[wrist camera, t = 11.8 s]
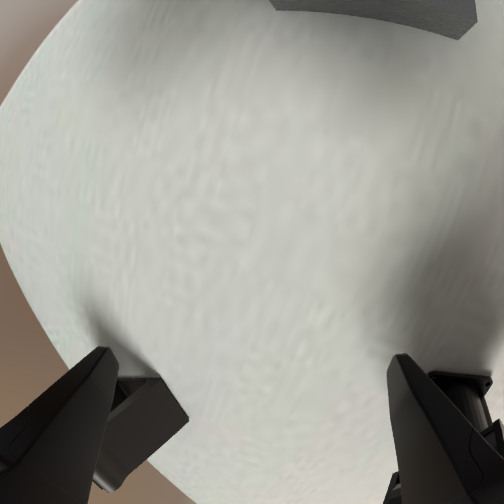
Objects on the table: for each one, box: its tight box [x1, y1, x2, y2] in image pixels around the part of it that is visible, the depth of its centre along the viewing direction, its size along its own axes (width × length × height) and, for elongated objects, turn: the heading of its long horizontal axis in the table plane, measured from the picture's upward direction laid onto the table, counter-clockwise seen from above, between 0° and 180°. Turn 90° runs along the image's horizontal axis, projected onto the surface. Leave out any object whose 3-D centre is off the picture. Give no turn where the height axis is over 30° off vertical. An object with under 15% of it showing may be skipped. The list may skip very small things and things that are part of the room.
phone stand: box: [92, 378, 189, 492], centre depth 24 cm, size 9×6×12 cm, turn 113°
